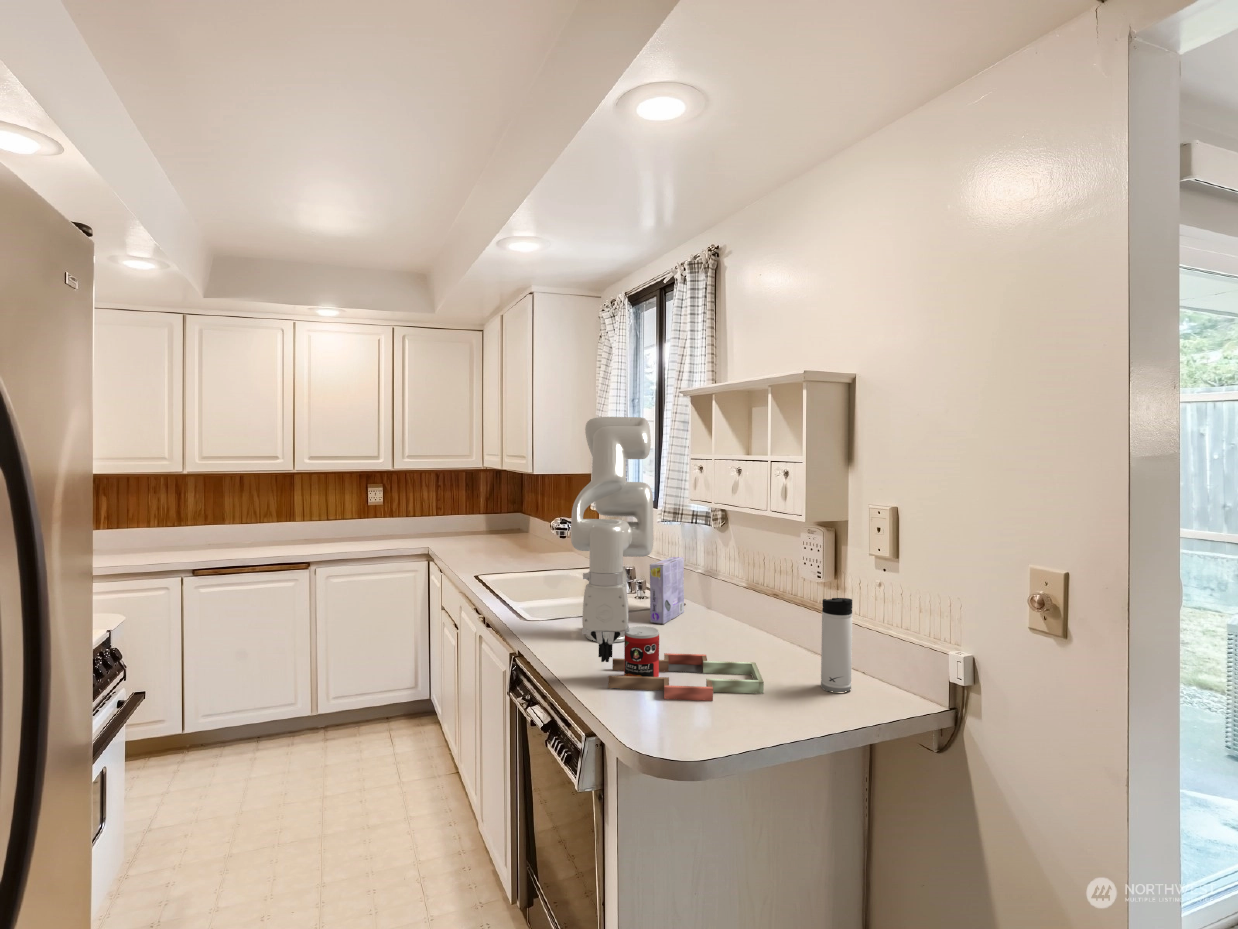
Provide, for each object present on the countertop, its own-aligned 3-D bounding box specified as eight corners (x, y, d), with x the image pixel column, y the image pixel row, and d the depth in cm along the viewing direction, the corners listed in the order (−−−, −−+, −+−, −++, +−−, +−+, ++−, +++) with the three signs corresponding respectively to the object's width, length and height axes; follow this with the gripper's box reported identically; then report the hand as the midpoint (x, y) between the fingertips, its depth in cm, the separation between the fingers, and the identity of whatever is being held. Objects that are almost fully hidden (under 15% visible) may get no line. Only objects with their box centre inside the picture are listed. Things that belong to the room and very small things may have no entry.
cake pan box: (671, 609, 217) (672, 554, 217) (686, 611, 215) (686, 556, 215) (648, 623, 200) (648, 564, 200) (663, 625, 198) (664, 565, 197)
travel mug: (835, 696, 142) (837, 601, 142) (814, 685, 148) (816, 595, 148) (858, 692, 145) (860, 599, 144) (837, 682, 151) (838, 592, 150)
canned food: (619, 683, 149) (619, 633, 149) (631, 672, 157) (631, 624, 156) (652, 687, 146) (653, 637, 146) (663, 676, 154) (663, 628, 154)
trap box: (606, 697, 141) (606, 685, 140) (614, 662, 163) (614, 652, 163) (767, 702, 138) (767, 690, 138) (752, 666, 161) (752, 655, 161)
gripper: (570, 581, 148) (570, 664, 149) (638, 583, 147) (638, 666, 148) (575, 575, 156) (574, 654, 156) (640, 576, 155) (639, 656, 155)
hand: (605, 660), depth 152 cm, fingers closed
